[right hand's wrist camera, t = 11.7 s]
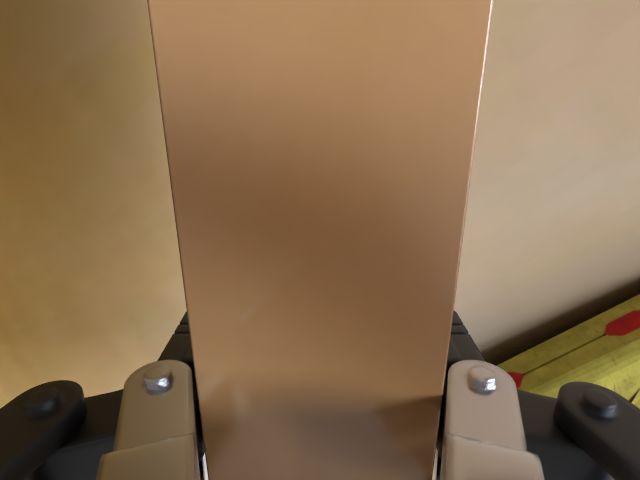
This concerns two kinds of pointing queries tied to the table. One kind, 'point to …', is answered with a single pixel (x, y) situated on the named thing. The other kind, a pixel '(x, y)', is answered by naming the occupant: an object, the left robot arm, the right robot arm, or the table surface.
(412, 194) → the bar
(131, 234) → the table surface
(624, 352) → the toy gun
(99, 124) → the table surface
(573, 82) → the table surface
